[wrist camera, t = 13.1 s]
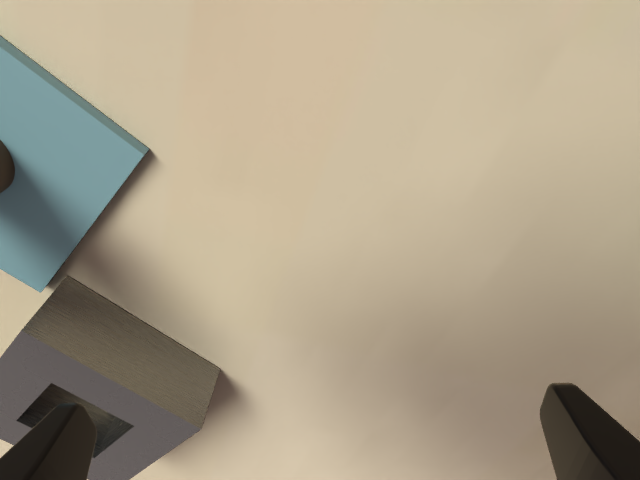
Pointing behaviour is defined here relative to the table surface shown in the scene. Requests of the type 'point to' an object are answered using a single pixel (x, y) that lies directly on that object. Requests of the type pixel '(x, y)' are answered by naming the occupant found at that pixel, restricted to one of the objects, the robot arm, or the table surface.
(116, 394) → the block
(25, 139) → the blue square plate
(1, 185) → the brown wooden pin
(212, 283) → the table surface
